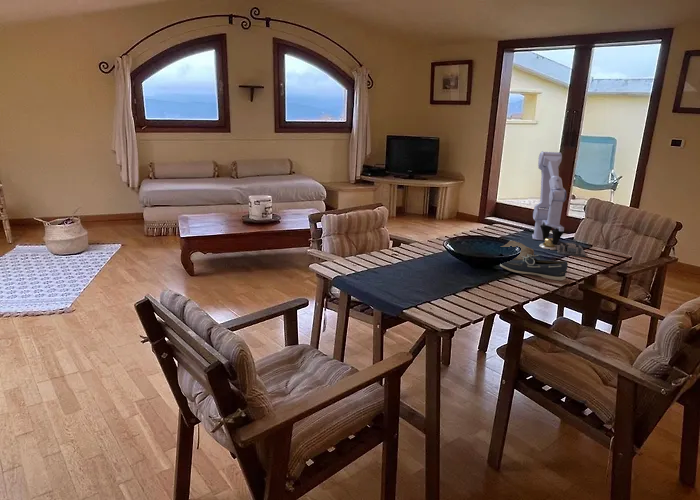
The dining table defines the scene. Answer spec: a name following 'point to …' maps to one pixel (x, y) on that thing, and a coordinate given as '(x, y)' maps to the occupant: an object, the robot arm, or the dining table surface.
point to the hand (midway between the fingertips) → (549, 241)
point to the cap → (549, 242)
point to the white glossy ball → (547, 247)
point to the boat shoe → (538, 267)
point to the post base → (570, 250)
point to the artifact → (524, 249)
